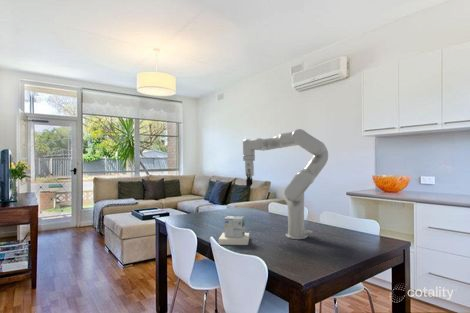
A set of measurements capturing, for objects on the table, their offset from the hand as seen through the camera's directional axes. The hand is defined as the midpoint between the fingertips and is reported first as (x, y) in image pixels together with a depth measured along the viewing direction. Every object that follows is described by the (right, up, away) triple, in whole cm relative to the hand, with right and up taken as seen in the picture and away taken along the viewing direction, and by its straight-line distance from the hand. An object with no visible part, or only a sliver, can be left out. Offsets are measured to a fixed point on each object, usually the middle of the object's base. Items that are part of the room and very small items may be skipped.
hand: (249, 185), depth 175 cm
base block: (-10, -30, -19) cm, 37 cm away
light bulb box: (-9, -27, -19) cm, 34 cm away
